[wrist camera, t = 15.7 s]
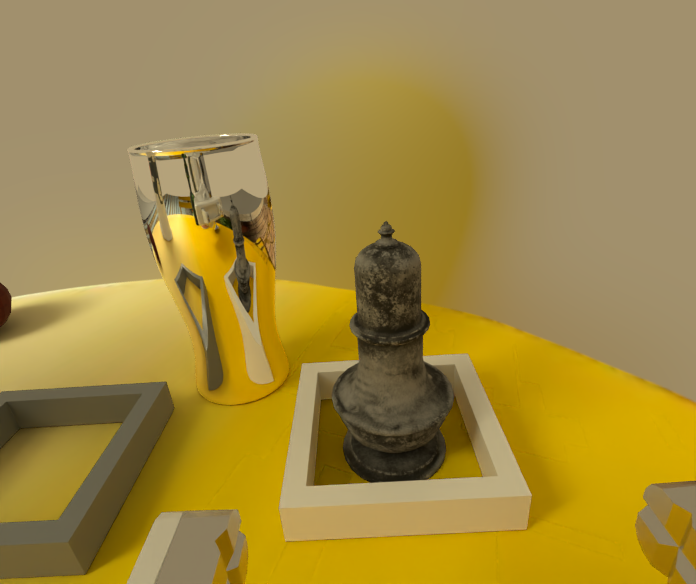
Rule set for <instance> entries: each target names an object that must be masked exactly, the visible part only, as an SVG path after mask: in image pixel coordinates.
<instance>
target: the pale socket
mask: <svg viewBox="0 0 696 584" xmlns="http://www.w3.org/2000/svg"><path fill="white" fill-rule="evenodd" d="M423 360H424V361H425V362H427V363H429V364H431V365H432V366H434V367H436V368H437V369H439V370H440V371H441V372H442V373H443V374H445V375H446V377H447V378H448V380H449V381H450V383H451V384H452V388H453V392H454V394H455V397H456V400H457V403H458V406H459V409H460V411H461V414H462V417H463V420H464V423H465V426H466V429H467V432H468V434H469V437H470V440H471V443H472V446H473V449H474V452H475V454H476V457H477V460H478V463H479V466H480V469H481V472H482V475H483V477H473V478H454V479H435V480H416V481H397V482H378V483H360V484H341V485H322V486H314V478H315V466H316V454H317V442H318V430H319V418H320V406H321V400H323V399H332V391H333V386H334V384H335V382H336V381H337V379H338V377H339V376H340V375H341V374H342V373H343V372H345V371H346V370H347V369H348V368H350V367H351V366H353V365H355V364H357V363H359V360H354V361H338V362H321V363H305V364H302V368H301V375H300V381H299V387H298V393H297V399H296V405H295V412H294V418H293V424H292V430H291V436H290V443H289V449H288V455H287V461H286V467H285V473H284V480H283V486H282V492H281V498H280V504H279V512H280V517H281V522H282V527H283V531H284V536H285V541H303V540H324V539H344V538H364V537H385V536H405V535H425V534H445V533H466V532H486V531H506V530H527V523H528V517H529V511H530V504H531V498H532V495H531V492H530V490H529V488H528V486H527V484H526V481H525V479H524V477H523V475H522V473H521V470H520V468H519V466H518V464H517V461H516V459H515V457H514V455H513V453H512V450H511V448H510V446H509V444H508V442H507V439H506V437H505V435H504V433H503V430H502V428H501V426H500V424H499V422H498V419H497V417H496V415H495V413H494V411H493V408H492V406H491V404H490V402H489V399H488V397H487V395H486V393H485V391H484V388H483V386H482V384H481V382H480V380H479V377H478V375H477V373H476V371H475V368H474V366H473V364H472V362H471V360H470V357H469V355H468V354H452V355H436V356H423Z"/></svg>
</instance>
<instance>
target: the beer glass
mask: <svg viewBox="0 0 696 584" xmlns="http://www.w3.org/2000/svg"><path fill="white" fill-rule="evenodd" d="M127 152H128V154H129V158H130V163H131V167H132V173H133V178H134V184H135V190H136V194H137V199H138V204H139V209H140V213H141V217H142V221H143V225H144V229H145V232H146V236H147V239H148V242H149V245H150V248H151V251H152V254H153V257H154V259H155V261H156V263H157V266H158V268H159V271H160V273H161V275H162V277H163V279H164V281H165V284H166V286H167V288H168V290H169V292H170V294H171V296H172V298H173V300H174V302H175V304H176V306H177V308H178V310H179V312H180V314H181V316H182V318H183V320H184V322H185V324H186V326H187V329H188V331H189V334H190V337H191V340H192V344H193V349H194V355H195V373H196V385H197V389H198V391H199V393H200V394H201V396H202V397H204V398H205V399H206V400H208V401H210V402H213V403H217V404H222V405H238V404H244V403H249V402H252V401H256V400H258V399H261V398H263V397H265V396H267V395H269V394H271V393H272V392H274V391H275V390H276V389H277V388H279V387H280V386H281V385H282V384H283V382H284V381H285V380H286V378H287V376H288V373H289V362H288V359H287V356H286V353H285V350H284V348H283V345H282V343H281V340H280V337H279V334H278V330H277V325H276V318H275V277H276V238H275V225H274V217H273V209H272V204H271V198H270V192H269V187H268V183H267V179H266V174H265V170H264V165H263V161H262V157H261V154H260V149H259V144H258V137H257V135H254V134H219V135H205V136H194V137H185V138H176V139H169V140H162V141H156V142H150V143H144V144H140V145H136V146H132V147H130V148H128V149H127Z"/></svg>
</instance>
